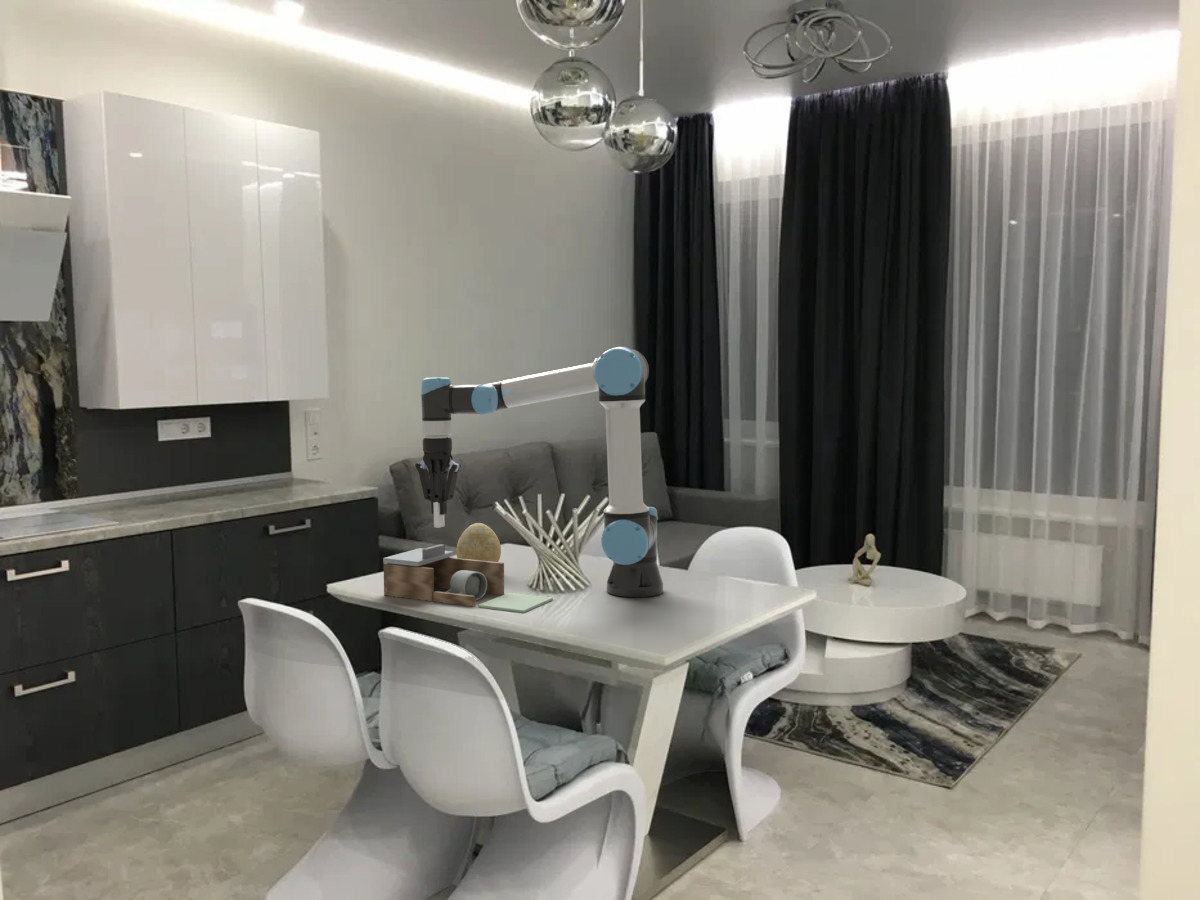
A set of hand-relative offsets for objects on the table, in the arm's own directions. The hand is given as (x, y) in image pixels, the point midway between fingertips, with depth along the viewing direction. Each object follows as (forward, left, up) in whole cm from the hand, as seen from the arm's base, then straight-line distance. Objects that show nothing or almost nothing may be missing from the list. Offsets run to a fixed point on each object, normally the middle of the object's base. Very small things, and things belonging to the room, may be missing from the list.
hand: (439, 526), depth 261 cm
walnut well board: (-1, 0, -18) cm, 18 cm away
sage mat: (-23, 0, -18) cm, 29 cm away
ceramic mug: (-9, +2, -18) cm, 20 cm away
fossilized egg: (+4, -26, -18) cm, 32 cm away
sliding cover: (+7, 0, -9) cm, 11 cm away
